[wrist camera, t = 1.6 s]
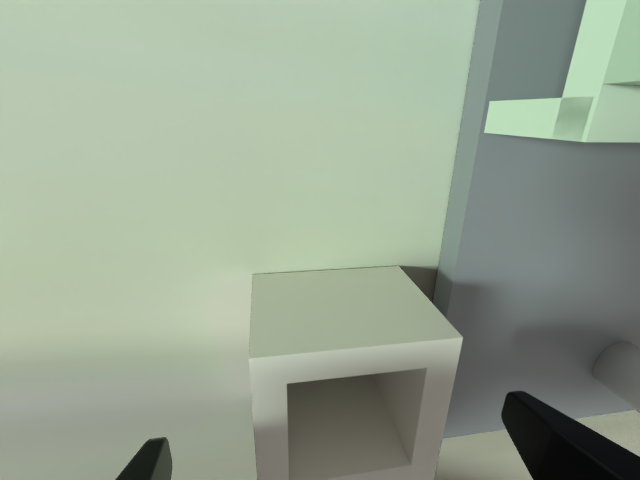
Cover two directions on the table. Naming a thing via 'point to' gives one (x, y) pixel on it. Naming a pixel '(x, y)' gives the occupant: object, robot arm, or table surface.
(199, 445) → the table surface
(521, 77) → the housing plate
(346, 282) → the white hollow square block
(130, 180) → the table surface
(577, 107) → the cover
